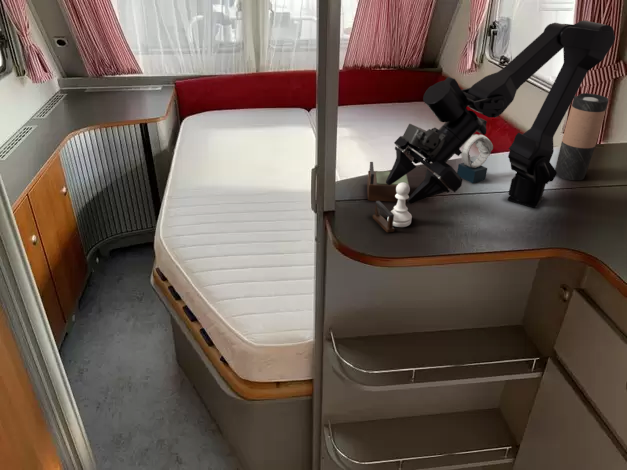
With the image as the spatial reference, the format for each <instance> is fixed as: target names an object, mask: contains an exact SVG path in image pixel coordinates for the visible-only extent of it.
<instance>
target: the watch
mask: <svg viewBox="0 0 627 470" xmlns="http://www.w3.org/2000/svg"><path fill="white" fill-rule="evenodd" d="M474 144H475V147H476V148H477V149H478V152H479V155H478V157H477V158H476V159H475V160H474V161H472V160H471V154H470V149H471V148H472V146H473V145H474ZM493 149H494V145H493V143H492V141H491V140H490V139H489V138H488V137H487V136H486V135H483V134H477V133H474V134H473V135H472V136H471V137H470V138H469V139H468V140H467V141H466V142H465V144H464V145H463V146H462V147H461V152H462V153H461V154H460V156H461V161H462V162H460V163H458V164H457V165H458V166H457V171H456V172H457V174H458V175H459V176H460V177H461V178H462V179H463V180H465V181H467V182H469V183H471V184H476V183H480V182H483V181H485V180H486V178H487V173H488V167H486V166H484V165H483V164H484V163H485V162H486V161H487V160H488V158H489V157H490V155H491V152H492V151H493Z"/></svg>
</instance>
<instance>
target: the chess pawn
mask: <svg viewBox="0 0 627 470" xmlns="http://www.w3.org/2000/svg"><path fill="white" fill-rule="evenodd" d="M410 191H411V187H410V184H409V185H408V184H407V183H404V182H402V183H399V184H398V185H397V187H396V192H397V194H396V195H395V197H396V198H397V199H398V201H397V202H396V204H395V205H394V206H393V208H392V210H390V211H391V212H392V213H393V214H394V219H393V227H395V228H406V227H409V226H411V224H412V218H413V216H412V215H413V214H411V213H410V212H409V211H408V210H409V208H408V206H407V205H406V202H405V200H406V199H409V197H410V195H408V193H409V194H410ZM386 221H387V222H388V218H387V219H386Z"/></svg>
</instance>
